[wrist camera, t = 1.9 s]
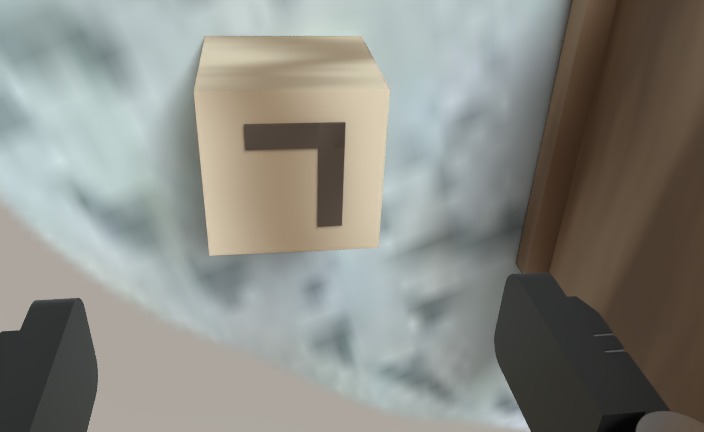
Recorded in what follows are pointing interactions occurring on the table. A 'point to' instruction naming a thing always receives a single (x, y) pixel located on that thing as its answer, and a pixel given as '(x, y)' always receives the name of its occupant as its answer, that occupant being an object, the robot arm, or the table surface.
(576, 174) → the walnut screen
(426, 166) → the table surface
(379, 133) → the letter cube
